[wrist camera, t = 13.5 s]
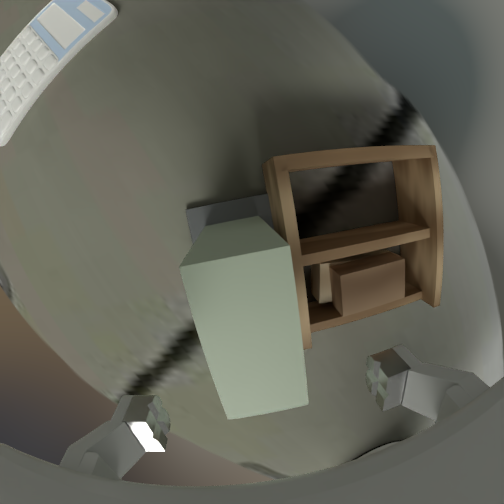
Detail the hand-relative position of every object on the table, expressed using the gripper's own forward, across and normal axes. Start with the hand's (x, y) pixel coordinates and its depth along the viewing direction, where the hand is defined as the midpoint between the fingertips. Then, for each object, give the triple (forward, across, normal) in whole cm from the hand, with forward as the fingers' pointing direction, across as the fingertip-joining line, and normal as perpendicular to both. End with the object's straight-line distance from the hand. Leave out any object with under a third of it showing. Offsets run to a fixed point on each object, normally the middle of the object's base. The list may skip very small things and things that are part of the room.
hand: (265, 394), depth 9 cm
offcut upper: (+13, -10, +2) cm, 16 cm away
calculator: (+15, +20, -30) cm, 39 cm away
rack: (+15, -10, -2) cm, 18 cm away
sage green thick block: (+15, 0, 0) cm, 15 cm away
